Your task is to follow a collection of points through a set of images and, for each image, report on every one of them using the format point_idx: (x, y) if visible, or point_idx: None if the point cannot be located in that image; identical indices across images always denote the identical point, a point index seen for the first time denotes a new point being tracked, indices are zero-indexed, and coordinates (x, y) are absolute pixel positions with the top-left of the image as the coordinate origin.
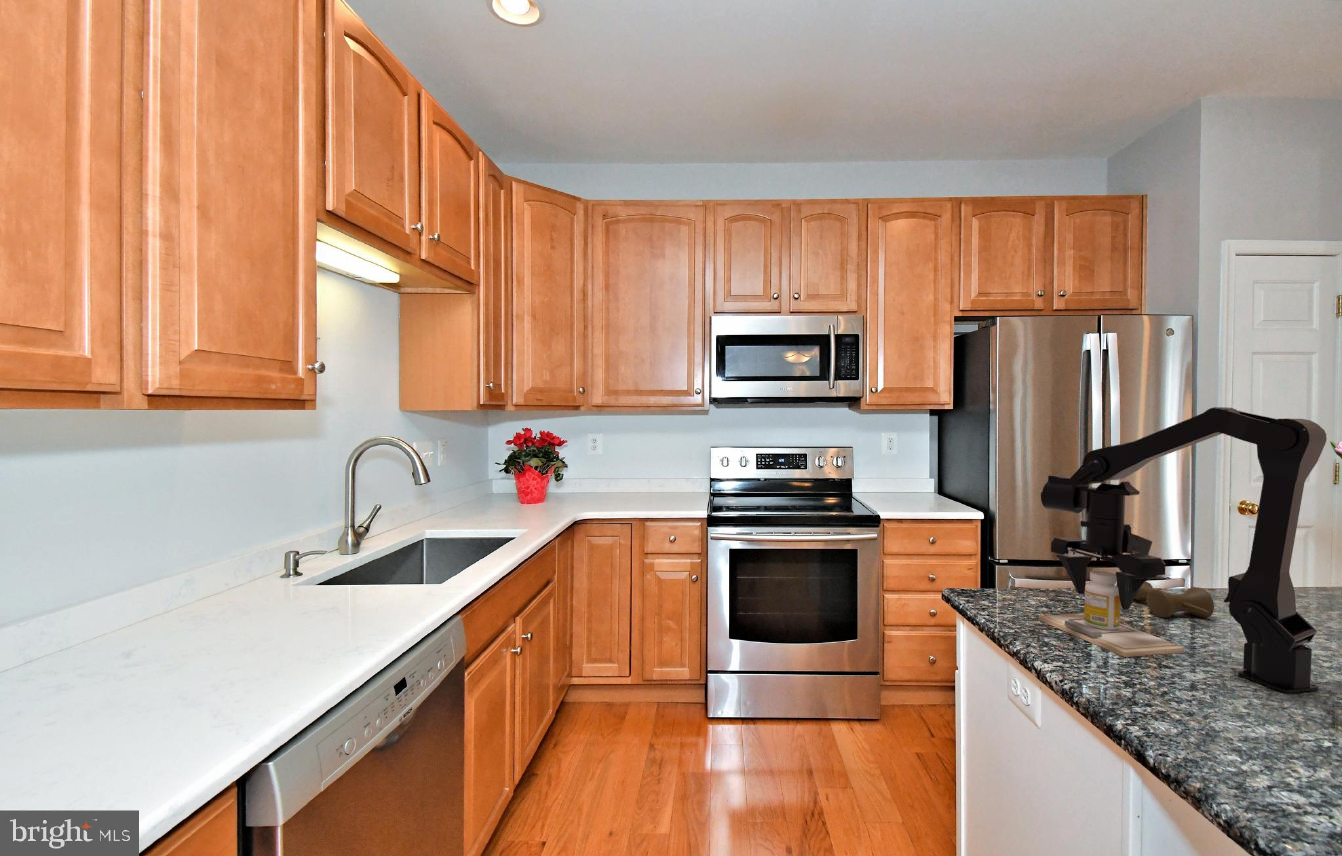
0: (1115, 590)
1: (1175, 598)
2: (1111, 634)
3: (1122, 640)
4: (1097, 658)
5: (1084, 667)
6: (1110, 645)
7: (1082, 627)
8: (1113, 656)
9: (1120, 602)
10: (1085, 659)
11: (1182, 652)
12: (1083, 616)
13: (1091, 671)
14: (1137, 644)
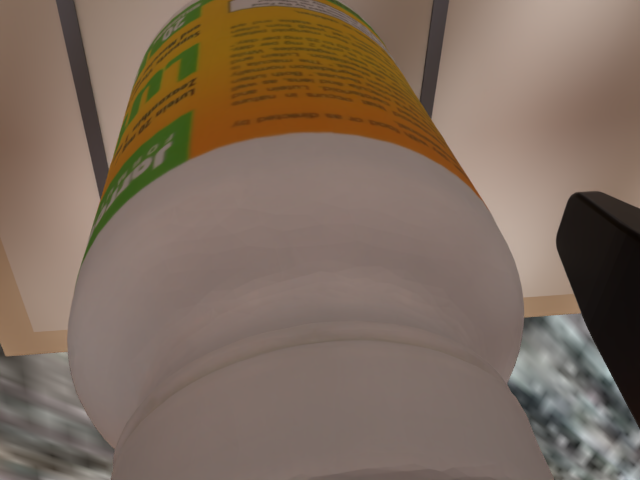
0: (516, 355)
1: None
2: None
3: (542, 209)
4: (567, 395)
5: (593, 471)
6: (544, 307)
7: None
8: (587, 328)
9: (581, 312)
10: (551, 435)
11: None
12: (7, 65)
13: (624, 470)
14: (627, 177)
